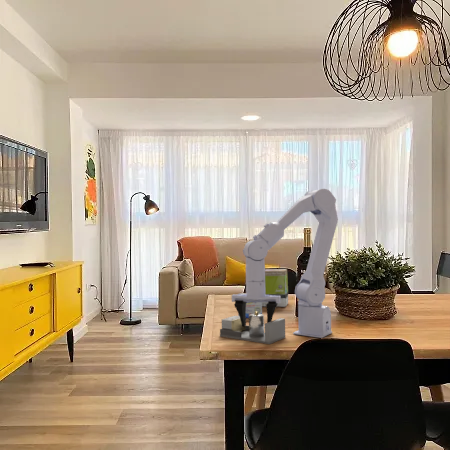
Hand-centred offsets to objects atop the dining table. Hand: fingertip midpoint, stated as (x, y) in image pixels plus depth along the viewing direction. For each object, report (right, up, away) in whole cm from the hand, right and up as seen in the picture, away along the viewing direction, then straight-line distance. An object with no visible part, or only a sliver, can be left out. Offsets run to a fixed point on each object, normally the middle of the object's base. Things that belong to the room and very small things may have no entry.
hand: (256, 326), depth 138 cm
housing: (0, -3, 0) cm, 3 cm away
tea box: (+9, -3, +55) cm, 56 cm away
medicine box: (0, -4, +31) cm, 31 cm away
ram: (-7, -3, +5) cm, 9 cm away
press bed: (-1, -3, +1) cm, 4 cm away
